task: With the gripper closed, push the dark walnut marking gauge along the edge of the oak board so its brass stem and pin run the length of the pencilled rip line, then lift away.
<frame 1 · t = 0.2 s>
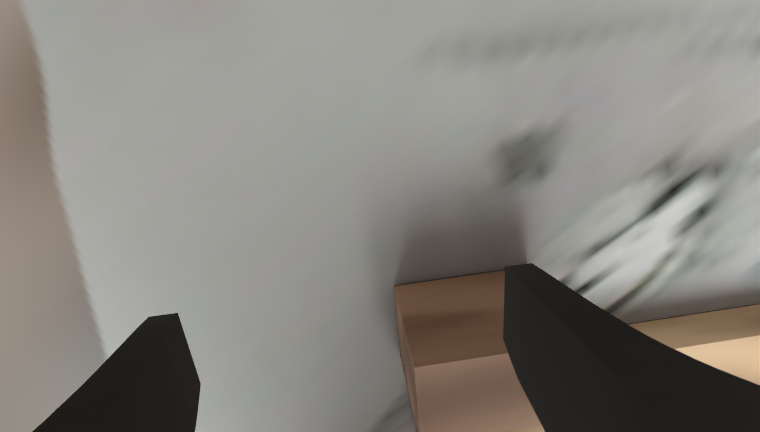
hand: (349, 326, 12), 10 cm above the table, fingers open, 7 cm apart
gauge: (478, 410, 24), point 3 cm above the table, slide at 0.0 cm
board: (614, 385, 28), on the table
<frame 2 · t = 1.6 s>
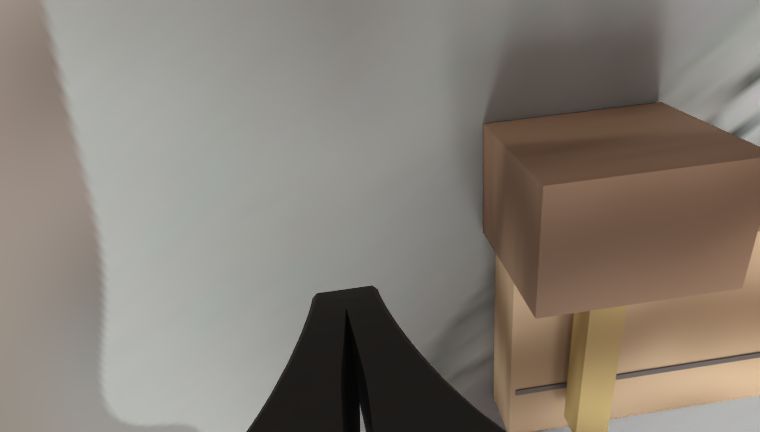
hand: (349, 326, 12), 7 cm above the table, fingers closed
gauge: (593, 295, 18), point 3 cm above the table, slide at 0.0 cm
board: (745, 287, 22), on the table
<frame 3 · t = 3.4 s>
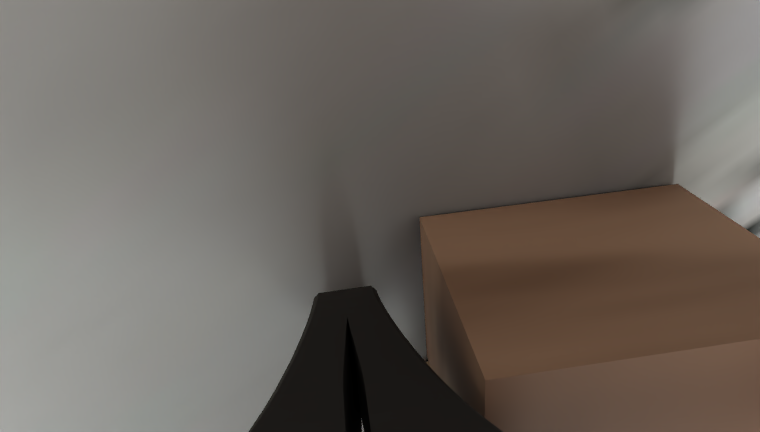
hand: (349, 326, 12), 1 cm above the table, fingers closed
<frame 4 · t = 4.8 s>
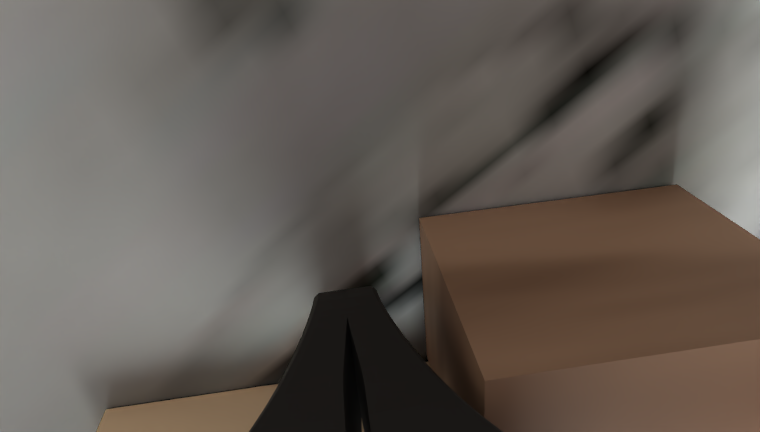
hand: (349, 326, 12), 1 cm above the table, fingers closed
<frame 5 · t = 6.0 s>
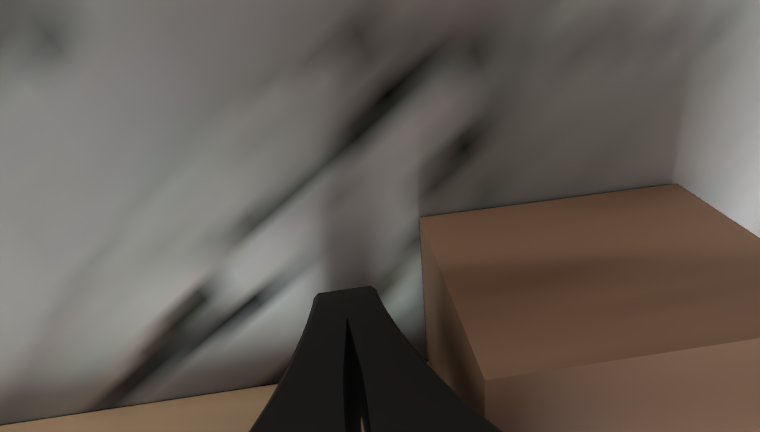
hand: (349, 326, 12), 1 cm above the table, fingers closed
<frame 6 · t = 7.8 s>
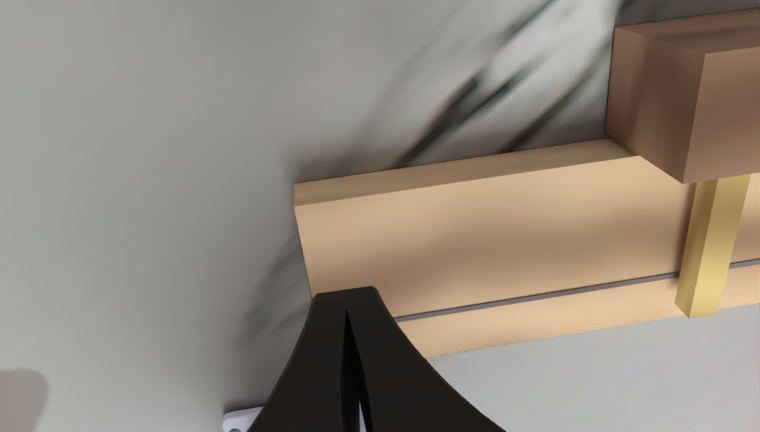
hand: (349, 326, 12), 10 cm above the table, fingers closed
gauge: (712, 181, 20), point 3 cm above the table, slide at 12.8 cm
board: (553, 232, 23), on the table
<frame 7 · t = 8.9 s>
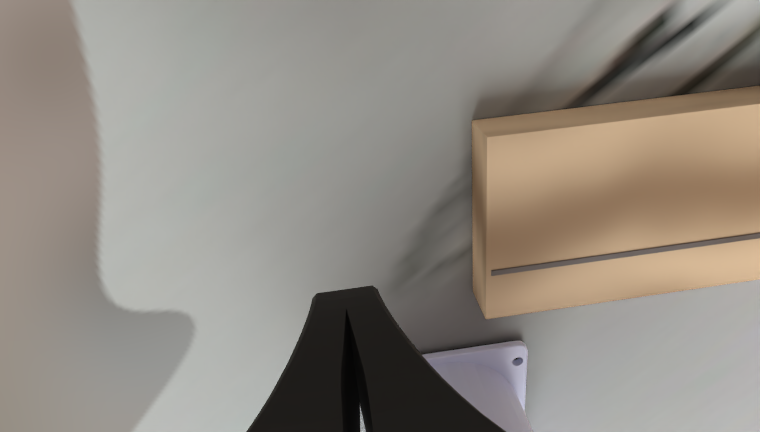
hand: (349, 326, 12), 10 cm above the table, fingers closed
board: (711, 181, 23), on the table
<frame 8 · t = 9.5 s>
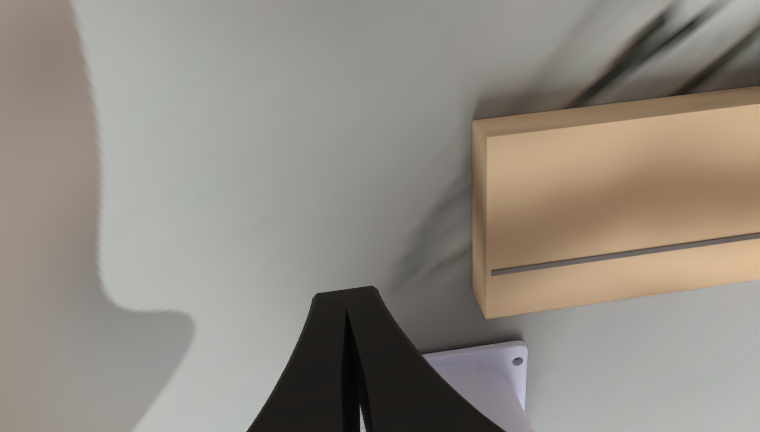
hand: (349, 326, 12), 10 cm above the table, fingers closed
board: (711, 181, 23), on the table
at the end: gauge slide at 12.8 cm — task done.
